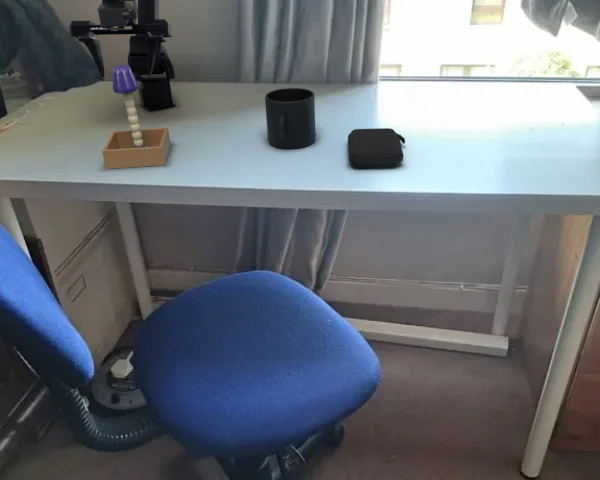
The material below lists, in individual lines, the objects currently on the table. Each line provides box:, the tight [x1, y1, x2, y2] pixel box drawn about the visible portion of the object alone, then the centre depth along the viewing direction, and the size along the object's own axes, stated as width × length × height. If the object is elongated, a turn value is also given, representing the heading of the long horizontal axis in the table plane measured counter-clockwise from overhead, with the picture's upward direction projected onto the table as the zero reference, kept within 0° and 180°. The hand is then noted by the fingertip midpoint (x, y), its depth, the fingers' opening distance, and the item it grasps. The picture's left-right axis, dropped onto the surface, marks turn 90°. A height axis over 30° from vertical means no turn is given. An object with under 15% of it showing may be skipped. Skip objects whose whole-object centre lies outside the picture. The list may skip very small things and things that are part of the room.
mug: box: [264, 87, 317, 150], centre depth 120 cm, size 9×12×9 cm
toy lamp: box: [112, 64, 147, 148], centre depth 115 cm, size 5×5×17 cm
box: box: [101, 127, 172, 170], centre depth 119 cm, size 11×11×4 cm
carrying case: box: [347, 127, 406, 169], centre depth 115 cm, size 11×3×15 cm
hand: (126, 76), depth 124 cm, fingers open, 9 cm apart
